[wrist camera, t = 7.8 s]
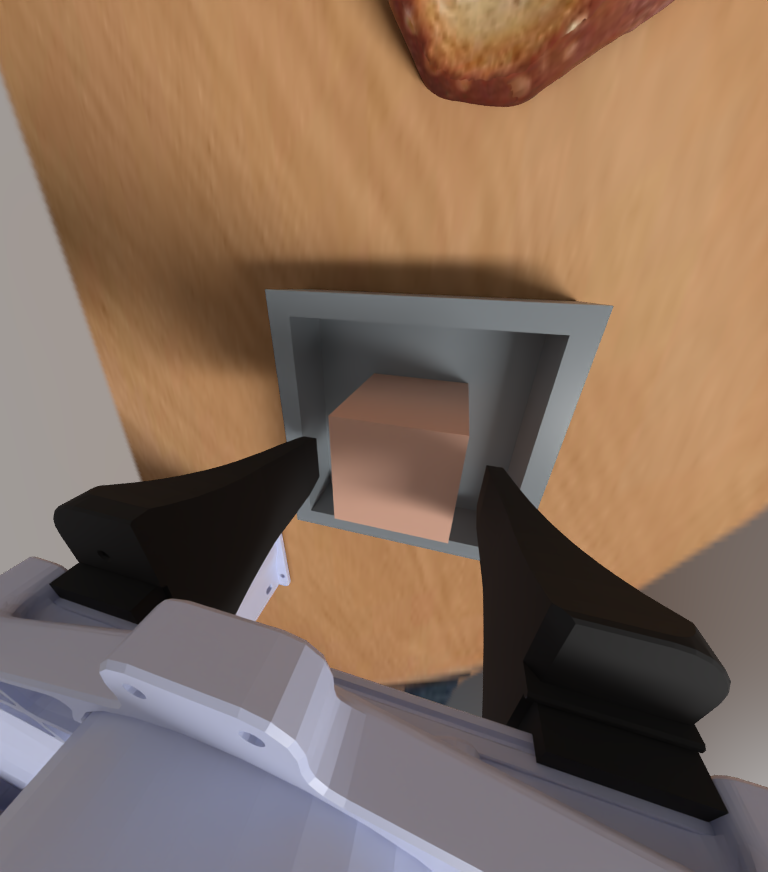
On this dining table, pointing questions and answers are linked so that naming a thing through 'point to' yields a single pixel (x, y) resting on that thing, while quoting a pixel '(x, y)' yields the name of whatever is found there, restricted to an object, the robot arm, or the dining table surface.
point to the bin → (438, 360)
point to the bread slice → (509, 42)
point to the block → (400, 454)
